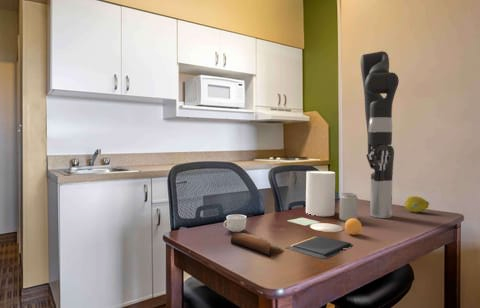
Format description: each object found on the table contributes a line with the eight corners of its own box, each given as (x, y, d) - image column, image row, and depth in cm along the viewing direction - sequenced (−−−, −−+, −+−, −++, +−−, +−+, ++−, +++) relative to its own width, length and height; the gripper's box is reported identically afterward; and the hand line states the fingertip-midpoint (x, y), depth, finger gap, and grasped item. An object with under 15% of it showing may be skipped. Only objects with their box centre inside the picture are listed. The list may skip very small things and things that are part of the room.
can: (358, 223, 140) (359, 195, 139) (340, 222, 141) (340, 194, 141) (355, 219, 147) (356, 192, 146) (338, 218, 148) (339, 191, 148)
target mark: (323, 222, 140) (323, 221, 140) (350, 228, 130) (350, 228, 130) (303, 226, 132) (303, 226, 132) (330, 234, 122) (330, 233, 122)
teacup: (237, 226, 131) (238, 213, 131) (250, 231, 125) (250, 217, 125) (217, 231, 125) (217, 217, 125) (229, 235, 119) (230, 220, 119)
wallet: (324, 256, 95) (283, 244, 106) (324, 262, 95) (282, 249, 106) (357, 242, 109) (317, 232, 120) (356, 248, 109) (317, 237, 120)
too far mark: (302, 217, 148) (302, 217, 148) (320, 222, 140) (320, 221, 140) (287, 221, 142) (287, 220, 142) (304, 225, 134) (304, 225, 134)
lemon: (401, 211, 164) (402, 195, 164) (407, 209, 169) (407, 194, 169) (425, 215, 156) (425, 198, 156) (430, 213, 161) (431, 197, 161)
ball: (350, 231, 126) (351, 216, 126) (364, 235, 121) (365, 219, 121) (341, 234, 122) (341, 218, 122) (355, 237, 118) (356, 221, 117)
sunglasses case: (288, 251, 102) (281, 235, 100) (275, 267, 98) (267, 251, 96) (248, 238, 116) (241, 223, 113) (235, 252, 112) (227, 237, 109)
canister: (312, 209, 168) (313, 170, 167) (338, 212, 160) (339, 172, 159) (301, 213, 157) (301, 172, 156) (328, 217, 149) (329, 174, 148)
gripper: (379, 131, 120) (378, 178, 121) (359, 130, 112) (358, 181, 112) (400, 131, 114) (399, 181, 115) (380, 130, 106) (379, 183, 107)
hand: (378, 181), depth 114 cm, fingers closed
